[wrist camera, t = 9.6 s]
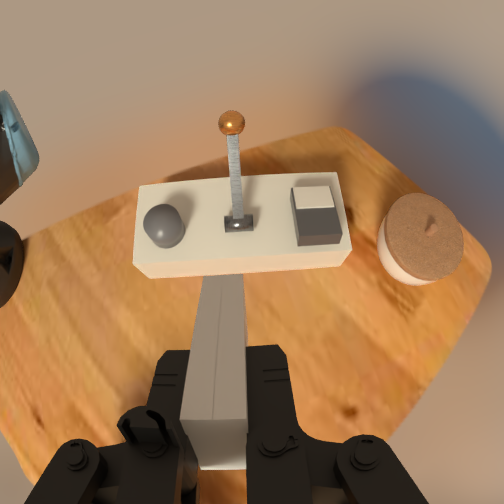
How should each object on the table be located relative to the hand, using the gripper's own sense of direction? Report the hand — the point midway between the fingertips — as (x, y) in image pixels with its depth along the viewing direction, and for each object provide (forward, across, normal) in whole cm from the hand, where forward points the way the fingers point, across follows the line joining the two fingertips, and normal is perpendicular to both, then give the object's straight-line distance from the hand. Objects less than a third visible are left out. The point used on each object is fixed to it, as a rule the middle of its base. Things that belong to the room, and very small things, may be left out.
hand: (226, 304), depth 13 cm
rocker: (+21, +8, -4) cm, 23 cm away
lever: (+22, 0, -5) cm, 22 cm away
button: (+23, -8, -5) cm, 24 cm away
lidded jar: (+25, +21, -12) cm, 35 cm away
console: (+28, 0, -8) cm, 29 cm away
